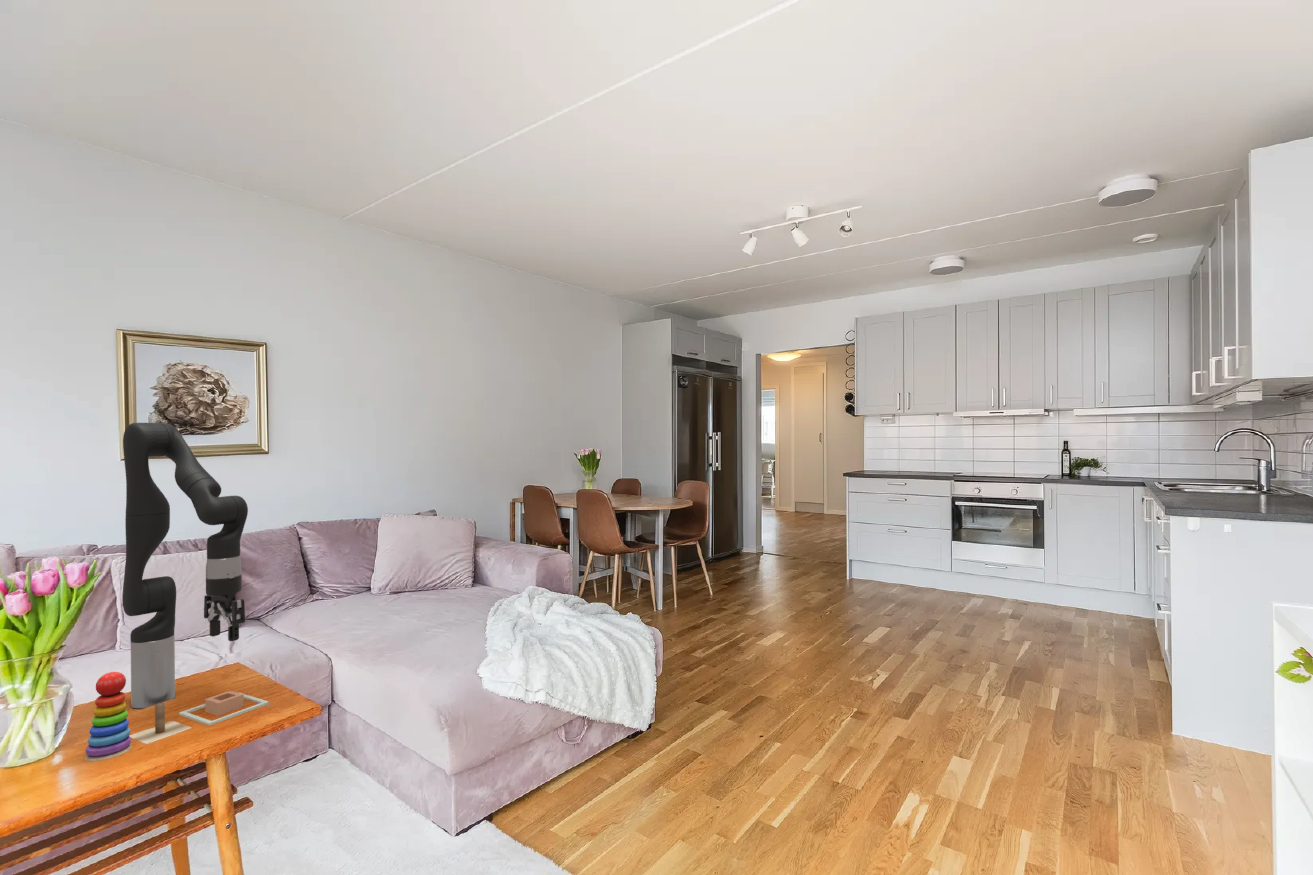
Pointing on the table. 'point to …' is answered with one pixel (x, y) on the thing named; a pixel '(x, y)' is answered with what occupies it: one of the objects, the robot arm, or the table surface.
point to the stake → (159, 727)
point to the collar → (224, 703)
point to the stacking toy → (109, 720)
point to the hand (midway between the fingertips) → (224, 637)
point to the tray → (208, 722)
